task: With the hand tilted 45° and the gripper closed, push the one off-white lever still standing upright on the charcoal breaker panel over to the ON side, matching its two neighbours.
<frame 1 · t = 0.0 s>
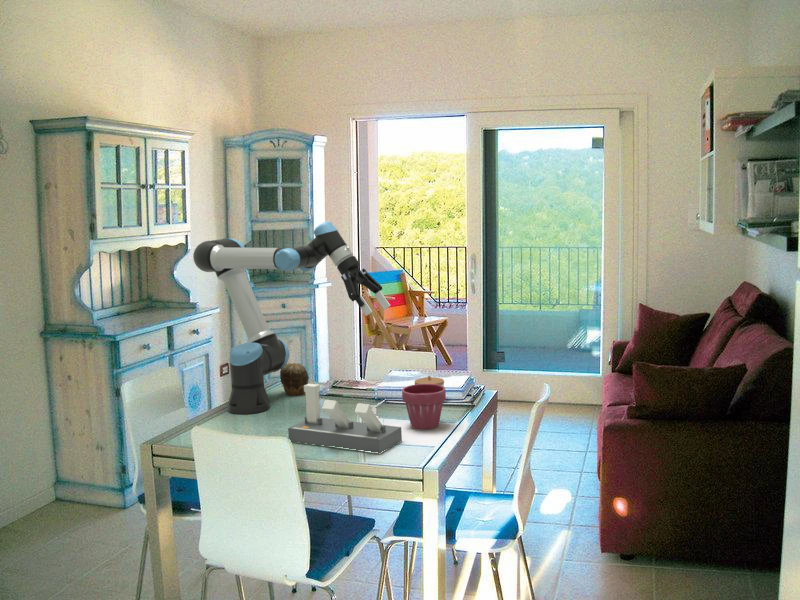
hand: (378, 310, 300), 36 cm above the table, tool tilted 35°, fingers open, 13 cm apart
lidded jar: (429, 401, 317), on the table
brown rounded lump: (295, 394, 335), on the table
right lever: (369, 418, 261), point 10 cm above the table, hinge at 44.0°
plant pot: (424, 426, 285), on the table
tripped lever: (312, 404, 275), point 11 cm above the table, hinge at 0.0°
middle lever: (337, 415, 267), point 10 cm above the table, hinge at 44.0°
breaker panel: (345, 441, 271), on the table
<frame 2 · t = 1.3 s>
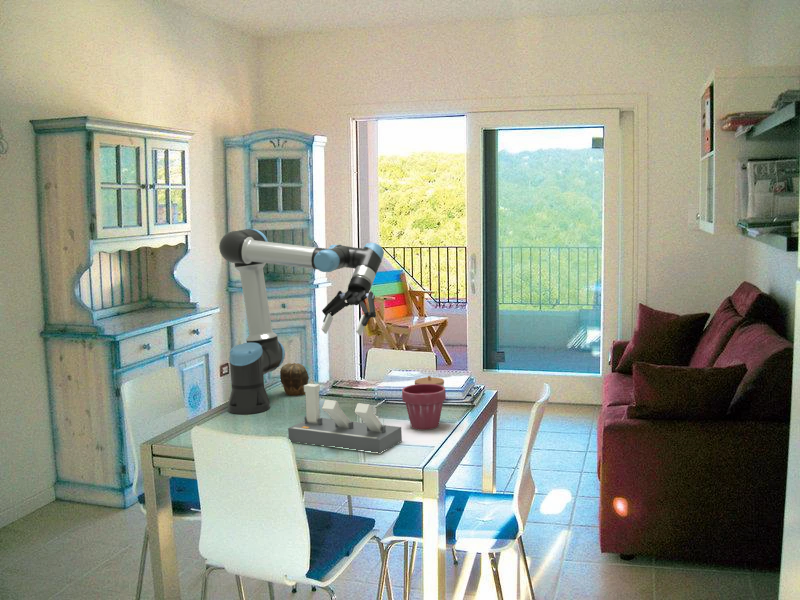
hand: (340, 332, 289), 31 cm above the table, tool tilted 45°, fingers open, 13 cm apart
nothing on the table moved.
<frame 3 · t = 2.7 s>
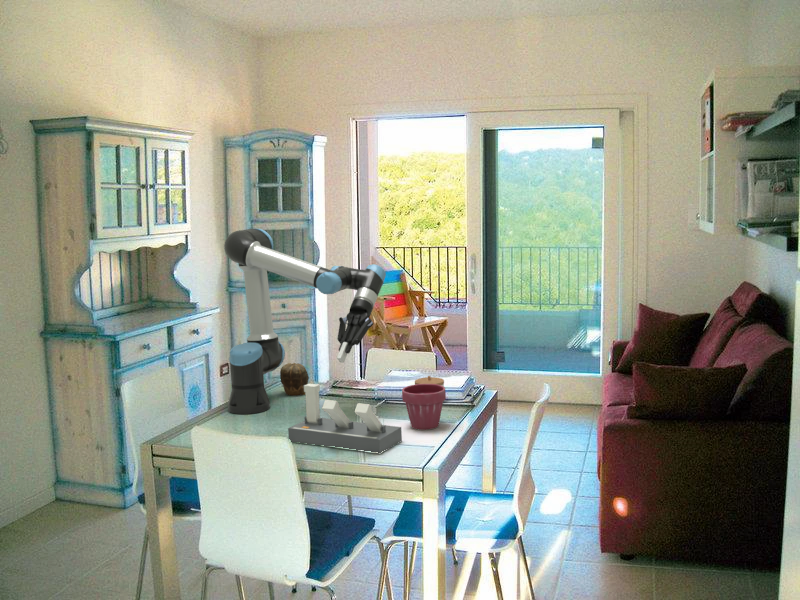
hand: (340, 360, 289), 22 cm above the table, tool tilted 45°, fingers closed
nothing on the table moved.
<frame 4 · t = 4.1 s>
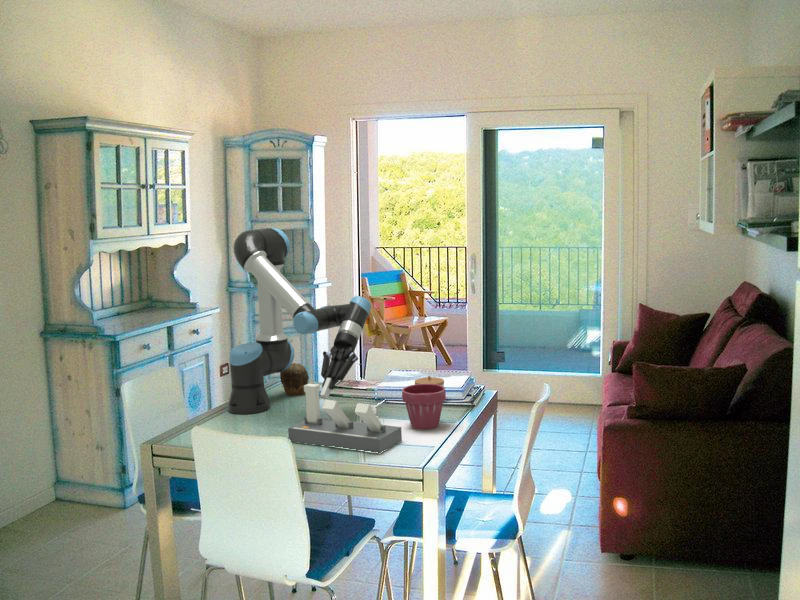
hand: (323, 396, 280), 12 cm above the table, tool tilted 45°, fingers closed
nothing on the table moved.
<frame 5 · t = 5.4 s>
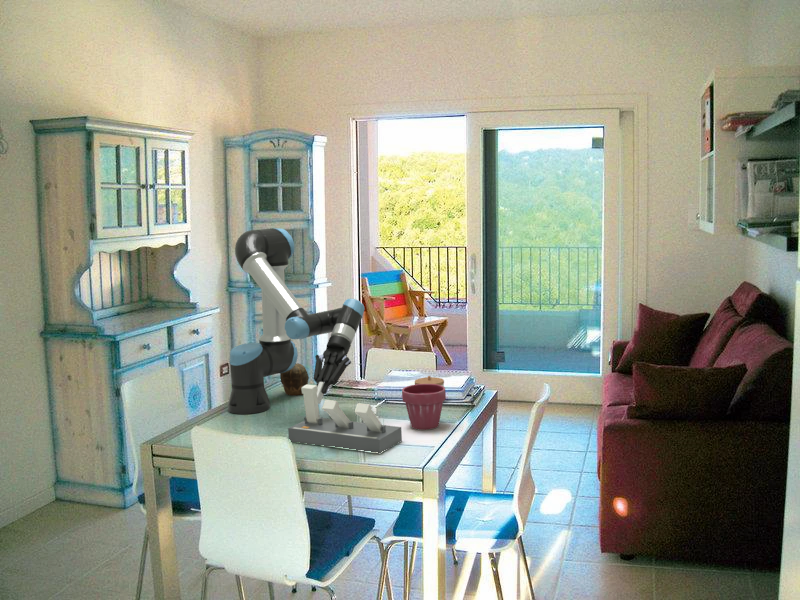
hand: (316, 401, 276), 12 cm above the table, tool tilted 45°, fingers closed
tripped lever: (311, 404, 274), point 11 cm above the table, hinge at 7.7°, touching gripper
everything else where it was.
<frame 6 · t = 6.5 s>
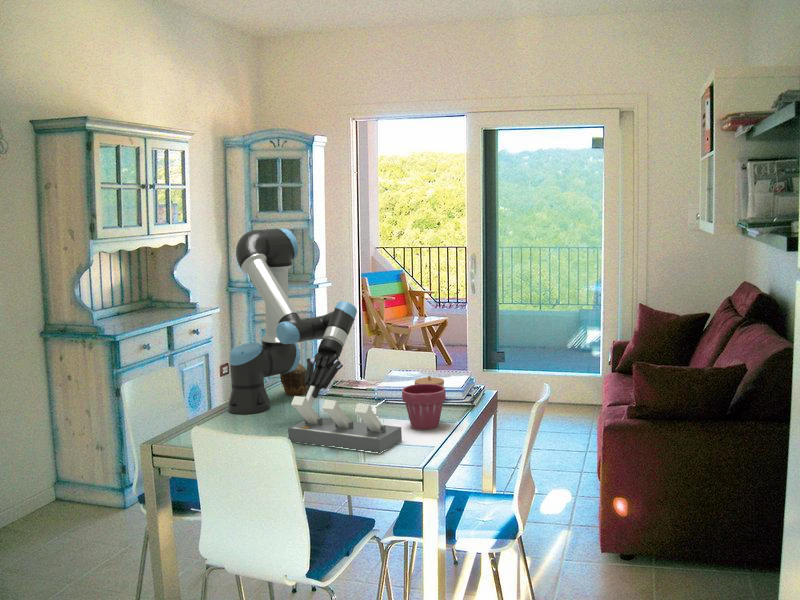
hand: (307, 405, 272), 11 cm above the table, tool tilted 45°, fingers closed
tripped lever: (306, 411, 272), point 10 cm above the table, hinge at 43.3°, touching gripper
everything else where it was.
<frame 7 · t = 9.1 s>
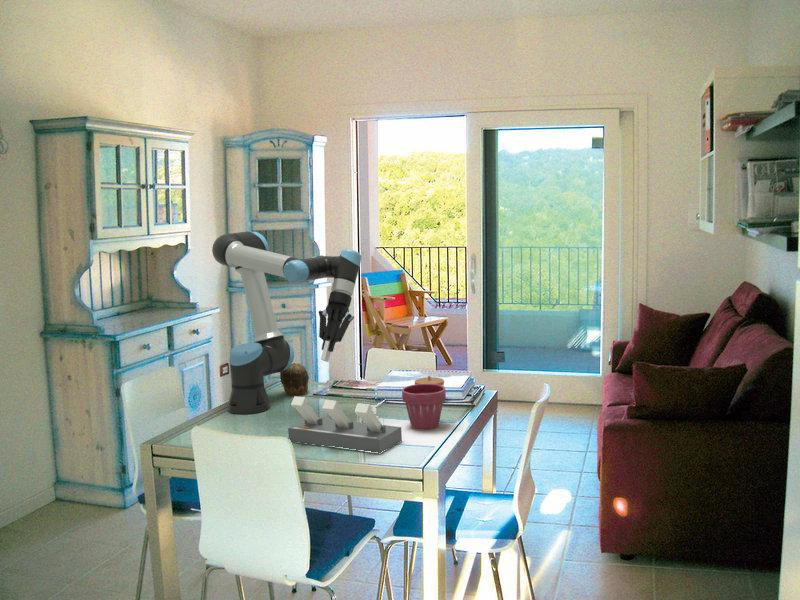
hand: (324, 360, 288), 22 cm above the table, tool tilted 25°, fingers closed
tripped lever: (306, 411, 272), point 10 cm above the table, hinge at 43.7°
everything else where it was.
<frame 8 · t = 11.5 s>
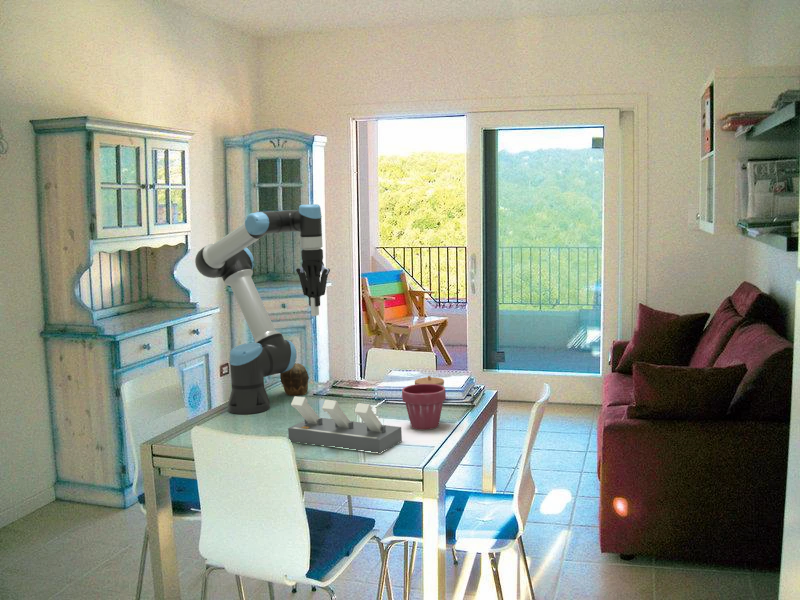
hand: (315, 315, 305), 34 cm above the table, tool pointing down, fingers closed
nothing on the table moved.
at the end: tripped lever at +44° (first picture: +0°); middle lever at +44° (first picture: +44°) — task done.
